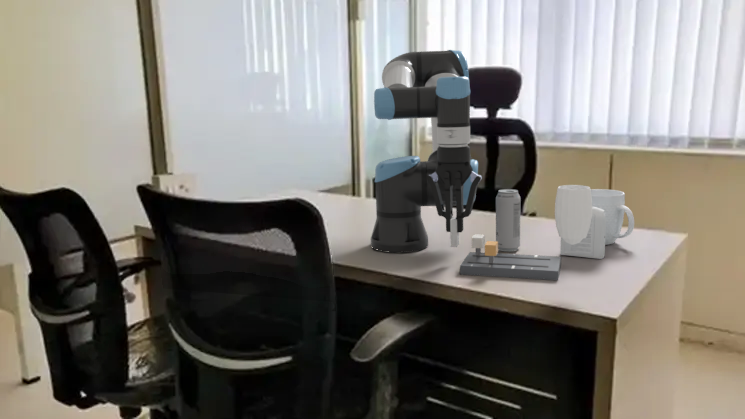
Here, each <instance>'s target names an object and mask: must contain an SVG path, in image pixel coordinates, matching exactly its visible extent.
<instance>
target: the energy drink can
mask: <svg viewBox="0 0 745 419" xmlns="http://www.w3.org/2000/svg"><path fill="white" fill-rule="evenodd" d="M495 241H498V251H501V252H507V253H508V252H510V253H511V252H516V251H519V248H520V247H521V196H520V194H519V190H518V189H511V188H507V189H506V188H505V189H499V190H498V192H497V194H496V197H495Z"/></svg>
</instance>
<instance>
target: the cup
mask: <svg viewBox="0 0 745 419" xmlns="http://www.w3.org/2000/svg"><path fill="white" fill-rule="evenodd" d="M554 203H555V204H554V220H555V227H556V230H557V234H558V237H560V239H561V238H563V239H564V241H565V242H566V243H569V244H571V245H574V244H577V243H580V242H581V240H582V239H584V238H586V236H587V234H588V231H589V228H590V224H591V218H592V197H591V187H590V186H588V185H582V184H565V185H564V184H562V185H559V186H558V187H557V190H556V195H555V200H554Z"/></svg>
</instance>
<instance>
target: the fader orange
mask: <svg viewBox="0 0 745 419" xmlns="http://www.w3.org/2000/svg"><path fill="white" fill-rule="evenodd" d="M484 253H485V256H489V263H494V256H496V255H497V253H499V250H498V241H496V240H495V241H494V240H491V241H490V240H487V241H486V242H485V245H484Z"/></svg>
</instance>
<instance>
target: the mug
mask: <svg viewBox="0 0 745 419" xmlns="http://www.w3.org/2000/svg"><path fill="white" fill-rule="evenodd" d="M590 189H591V188H590ZM591 197H592V206H593V207H597V208H600V209H602V210H604V211H605V216H606V232H605V246H606V245H607V246H609V245H613V244H614V243H615V242H616V241H617V240H618V239H623V238H627V237H628V236H630V235H631V234H632V233H633V231H634V228H635V218H634V214H633V211H632V210H631V209H630V208H629V207H628V206H626V205H625V204H626V203H625V202H626V201H625V200H626V199H625V198H626V194H625V192H624V191H621V190H617V189H605V188H602V189H601V188H595V189H594V188H592V189H591ZM625 215H626V216H627V221H628V226H627V230H626V232H624V233H622V234H620V233H621V231H622V228H623V223H624V216H625Z"/></svg>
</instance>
